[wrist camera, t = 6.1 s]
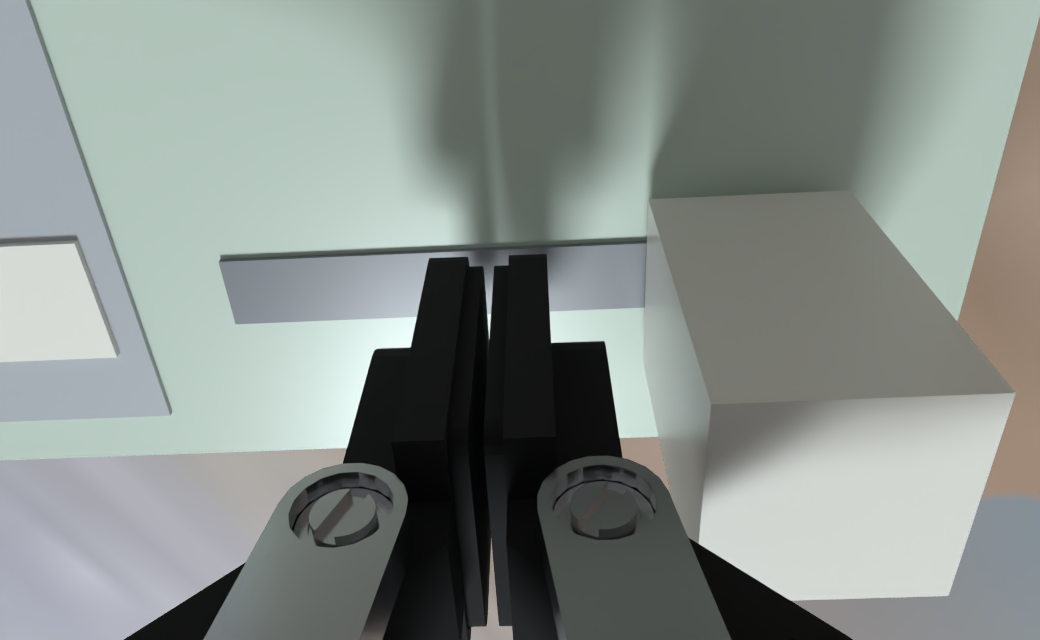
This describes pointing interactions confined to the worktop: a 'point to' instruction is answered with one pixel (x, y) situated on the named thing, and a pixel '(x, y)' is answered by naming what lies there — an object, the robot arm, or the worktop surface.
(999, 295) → the worktop surface
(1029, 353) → the worktop surface
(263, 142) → the switch box
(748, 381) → the switch
